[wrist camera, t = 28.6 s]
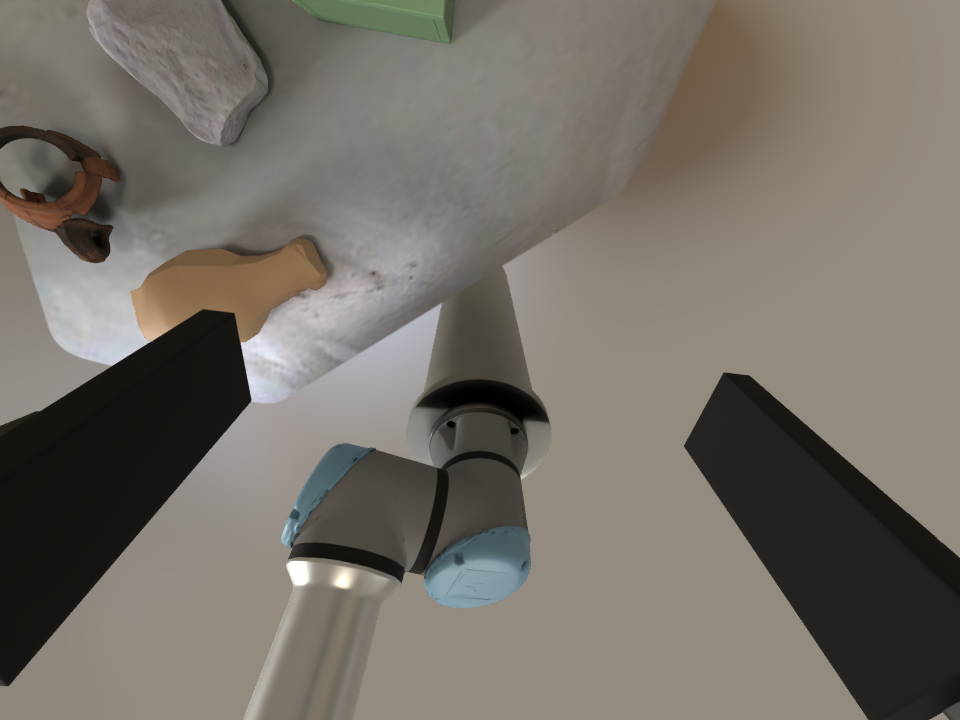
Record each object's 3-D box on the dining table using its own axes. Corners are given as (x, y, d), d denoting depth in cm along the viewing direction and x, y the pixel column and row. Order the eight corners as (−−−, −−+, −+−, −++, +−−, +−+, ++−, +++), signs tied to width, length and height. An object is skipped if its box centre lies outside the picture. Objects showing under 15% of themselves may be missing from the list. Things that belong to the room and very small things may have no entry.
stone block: (175, -55, 32) (102, 37, 33) (140, -93, 28) (58, 14, 29) (296, 80, 37) (228, 155, 38) (282, 66, 33) (206, 151, 34)
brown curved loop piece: (11, 170, 39) (-72, 132, 31) (113, 142, 42) (60, 100, 34) (85, 280, 42) (26, 270, 34) (177, 248, 44) (141, 232, 37)
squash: (151, 275, 45) (79, 284, 36) (305, 206, 43) (269, 199, 35) (206, 356, 48) (153, 383, 39) (351, 295, 47) (329, 308, 38)
